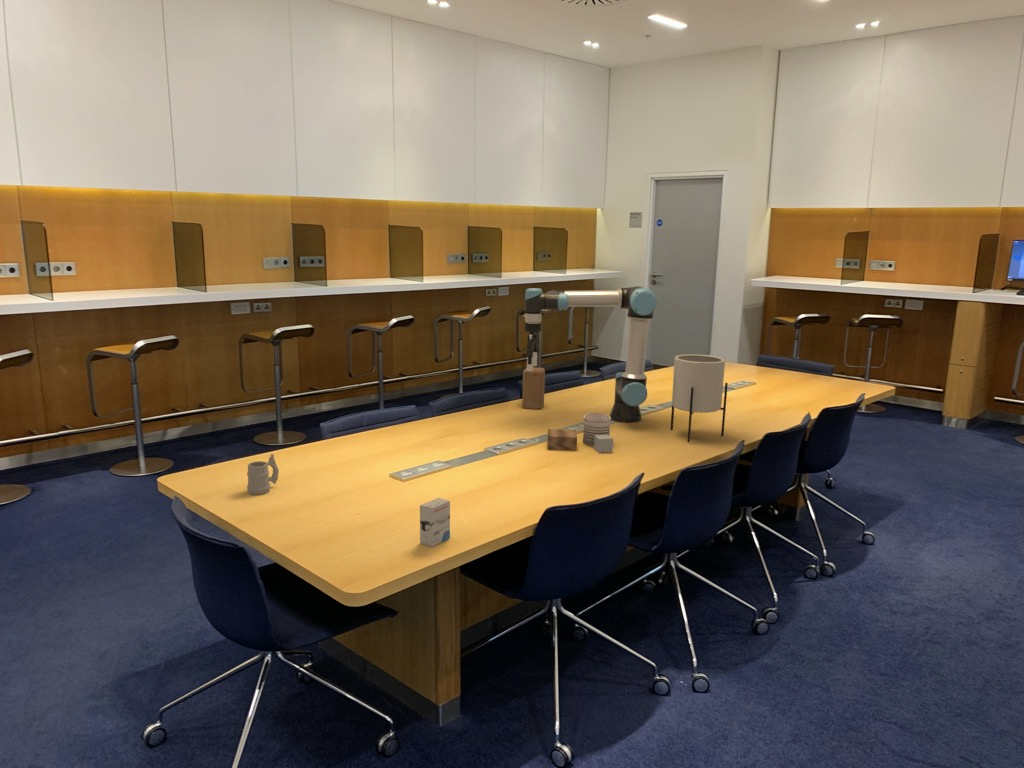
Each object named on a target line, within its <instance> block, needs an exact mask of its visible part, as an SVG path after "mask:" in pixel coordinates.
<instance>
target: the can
mask: <svg viewBox="0 0 1024 768" xmlns="http://www.w3.org/2000/svg"><path fill="white" fill-rule="evenodd" d="M610 418H611V417H610V415H608V414H606V413H598V412H592V413H586V414H584V416H583V430H582V431H583V437H582V438H583V439H582V443H583V444H584V445H586V446H589V447H593V446H594V435H609V436H610V437H611V435H610V433H611V432H610V431H611V430H610V429H611V419H610Z"/></svg>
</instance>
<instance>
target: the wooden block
mask: <svg viewBox="0 0 1024 768" xmlns="http://www.w3.org/2000/svg"><path fill="white" fill-rule="evenodd" d="M545 385H546V369H545V368H544V367H536V366H533V371H527V367H526V368H525V369H523V371H522V396H521V397H522V399H521V400H522V401H521V407H522V408H523V409H526V410H527V409H528V410H541V409H542V408H543V407H544V406H545V388H546V387H545Z"/></svg>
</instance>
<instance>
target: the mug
mask: <svg viewBox="0 0 1024 768" xmlns="http://www.w3.org/2000/svg"><path fill="white" fill-rule="evenodd" d="M274 456H275V454H274V453H271V454H270V456H269V457H268V461H262V460H261V461H253V462H249V463H247V473H246V475H247V486H246V490H247V492H248V494H249V495H252V496H257V495H259V496H260V495H265V494H268V493H269V492H270V491H271V484H270V482H271V483H272V484H274V485H275V484H277V481H278V480H279V479H278V478H279V468H278V465H277V463H276V460H275V457H274ZM269 466H270V467H271V468H272V474H271V476H269V474H270V471H269Z"/></svg>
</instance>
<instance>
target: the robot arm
mask: <svg viewBox="0 0 1024 768" xmlns="http://www.w3.org/2000/svg"><path fill="white" fill-rule="evenodd" d="M524 295H525V296H524V297H525V298H524V314H523V317H524V321H525V323H524V331H525V332H528V335H527V346H526V354H525V355H524V356H525V358H526V368H527V371H533V367H537V366H538V353H539V352H540V349H539V344H538V343H539V342H538V333H539V332H541V331H542V323H541V322H542V316H543V315H542V312H543V311H542V310H546V311H547V310H548V311H549V310H551V311H566V310H567V309H568V308H569V307H571V308H573V307H576V308H577V307H581V308H582V307H585V308H586V307H590V308H591V307H592V308H593V307H598V308H599V307H617V308H618V309H625V310H627V318H628V319H629V329H628V330H629V331H628V341H627V352H626V359H625V360H626V361H625V371H624V372H623V371H621V372H617V373H616V374H615V378H614V380H615V382H614V402H613V406H612V408H611V411H610V413H609V414H610V415H609V417H611V418H610V420H612V421H615V422H618V423H631V424H632V423H638V422H641V421H642V411H641V408H640V405H642V404H643V403H644V402H645V401H646V400H647V398H648V389H647V380H648V376H647V375H646V374H645V366H646V357H647V356H646V355H647V345H648V338H649V327H650V322H651V321H652V320H653V319H654V311H655V310H656V307H657V302H658V301H657V297H656V294H655V293H654V292H653V291H652V290H651V289H649V288H646V287H643V286H630V287H619V288H617V289H615V290H614V289H612V290H611V289H610V290H606V289H605V290H604V289H603V290H594V289H593V290H554V289H551V290H549V291H547V292H543V290H542V288H538V287H536V288H534V287H532V288H531V287H530V288H526V290H525V294H524Z"/></svg>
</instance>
